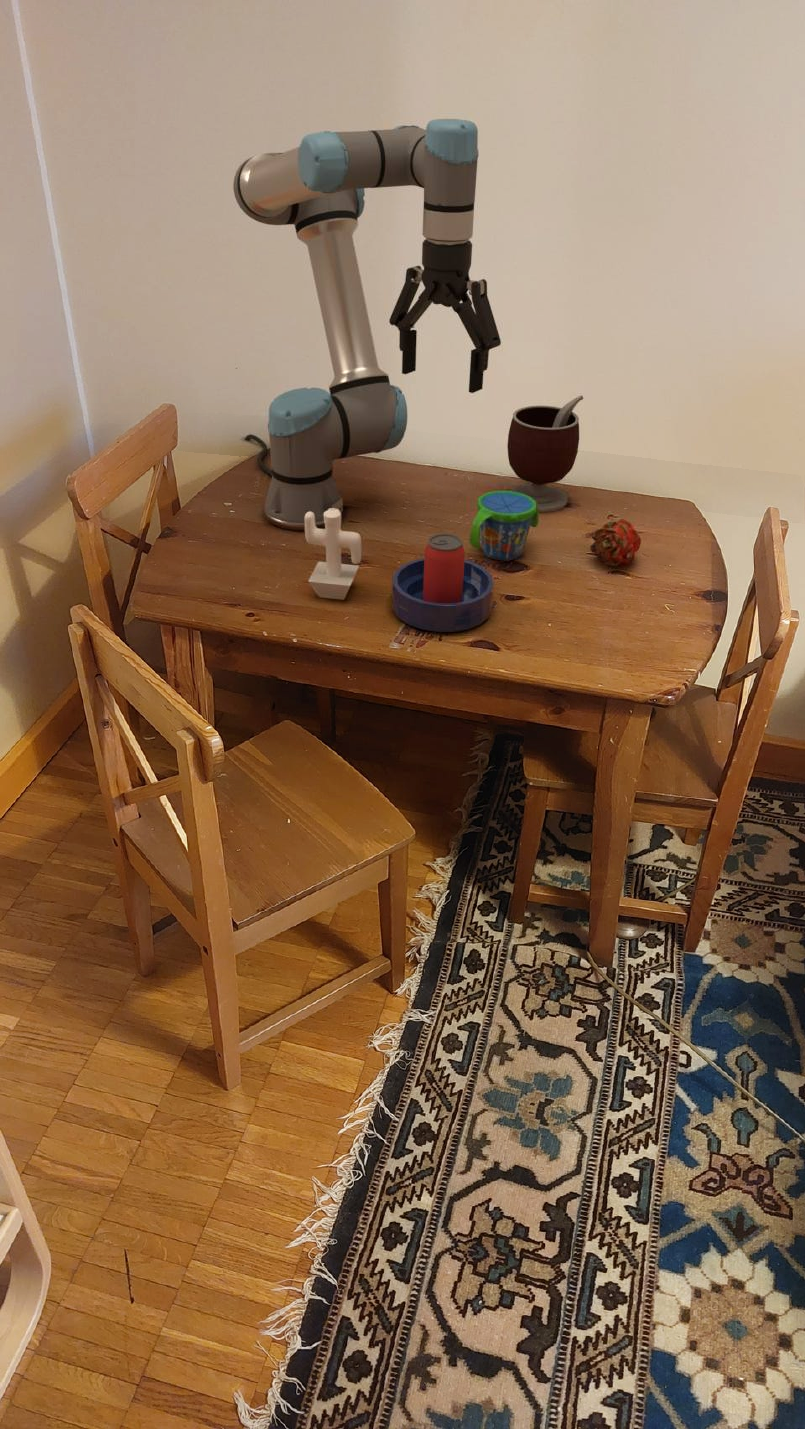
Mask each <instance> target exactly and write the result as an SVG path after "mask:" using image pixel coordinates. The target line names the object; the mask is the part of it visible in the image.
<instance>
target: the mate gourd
mask: <svg viewBox="0 0 805 1429" xmlns="http://www.w3.org/2000/svg"><path fill="white" fill-rule="evenodd" d="M583 400H584V396H583V395H579V396H576V398H573V399H572V400H570V401H568V402H567V403H565V405H564V406H562V407H559V406H552V405H529V406H523V407H520V408H518V409H516V410H515V411H514V412H513V413H512V418H511V421H510V422H511V423H510V426H509V428H508V436H507V458H508V462H509V463H508V464H509V466H510V468H511V469H512V471H513V472H514V474H515V475H516V477H518V478H519V479H520V480H522V481H525V482H528V483H523V484H519V485H516V486H512V487H511V488H510V489H509V490H508V491H512V492H518V493H522V494H525V495H527V496H529V497H531V498H532V499H533V500H535V501H536V502H537V505H538V512H539V513H546V512H547V513H548V512H554V511H557V510H560V509H562V508H564V507H565V506H566V505H567V504H568V494H566V492H564V491H563V490H562V489H560V488H558V487H555V486H552V485H549V484H554V483H558V482H560V481H562V480H563V479H564V478H565V477H566V476H567V475H568V474H569V473H570V472H571V471H572V469H573V467H574V465H575V462H576V459H577V455H578V453H579V452H578V451H579V446H580V423H579V421H580V418H579V416H578V415H577V414H576V413H575V412H573V410H575V407H576V406H577V404H578V403H579V402H580V401H583Z"/></svg>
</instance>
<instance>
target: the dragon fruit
mask: <svg viewBox="0 0 805 1429" xmlns="http://www.w3.org/2000/svg"><path fill="white" fill-rule="evenodd" d="M641 538H642V537H640V535H639V533H638V531H637V530H636V528H635V526H634V525H633V524H632V523H631V522H629V521H628V520H627V519H624V518H620V519H619V520H617V521H608V522H607V523H604V524H603V525H602V528H599V529H597V530H595V532H594V534H593V535H592V536H591V539H592V540H593V541H594V542H593V543H592V544H591V545H590V547H589V548H590V551H591V553H594V554H596V557H597V559H598V560H600V561H603V562H604V563H605V564H606V565H609V566H610V567H616V566H618V565H619V564H620V563H622V564H629V565H630V564H631V563H633V562H634V561H635V556H636V554H635V553H637V552H638V551H639V549H640V548H641V543H642V539H641Z"/></svg>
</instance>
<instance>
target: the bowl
mask: <svg viewBox="0 0 805 1429" xmlns="http://www.w3.org/2000/svg"><path fill="white" fill-rule="evenodd" d="M391 584H392V585H391V586H392V587H391V589H392V590H391V591H392V592H391V604H392V611H393V612H394V614H395V615H396V616H397V618H398V619H399V620H401V621H403V622H404V623H405V624H407V625H409V626H411V627H414V628H417V629H419V630H424V631H431V632H436V633H454V632H460V631H465V630H466V631H467V630H470V629H472V628H475V627H478V626H479V625H481V624H483V623H484V622H485V621H486V620H487V619H488V618H490V615H491V612H492V610H493V602H494V600H493V599H494V591H495V590H494V589H495V582H494V579H493V575H492V574H491V572H489V571H488V570H487V569H486V568H485V567H483V566H481V565H480V564H477V563H476V562H473V561H470V560H466V559H465V561H464V577H463V593H462V602H458V603H434V602H428V601H423V585H424V557H421V558H416V559H414V560H410V561H408V562H405V563H403V565H401V566H400V567H398V568H397V569H396V570H395V572H394V573H393V575H392V583H391Z"/></svg>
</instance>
